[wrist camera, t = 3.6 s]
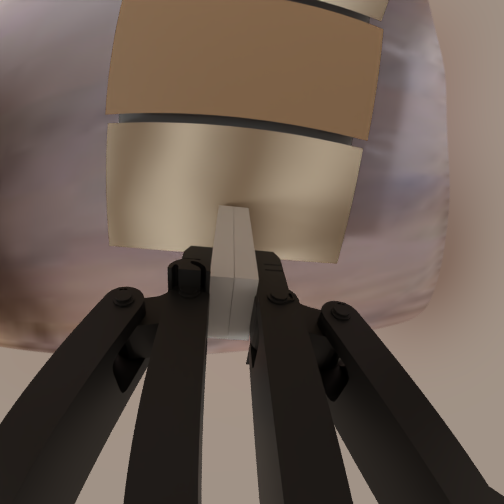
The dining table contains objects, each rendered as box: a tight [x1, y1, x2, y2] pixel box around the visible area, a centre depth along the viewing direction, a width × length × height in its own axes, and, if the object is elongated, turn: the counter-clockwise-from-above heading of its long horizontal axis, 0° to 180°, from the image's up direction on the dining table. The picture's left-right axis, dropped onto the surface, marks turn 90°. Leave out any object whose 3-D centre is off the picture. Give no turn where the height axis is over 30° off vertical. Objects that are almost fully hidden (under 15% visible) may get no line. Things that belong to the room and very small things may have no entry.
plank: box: [106, 122, 363, 264], centre depth 15 cm, size 14×7×2 cm, turn 83°
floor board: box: [105, 0, 383, 146], centre depth 12 cm, size 14×23×4 cm, turn 173°
